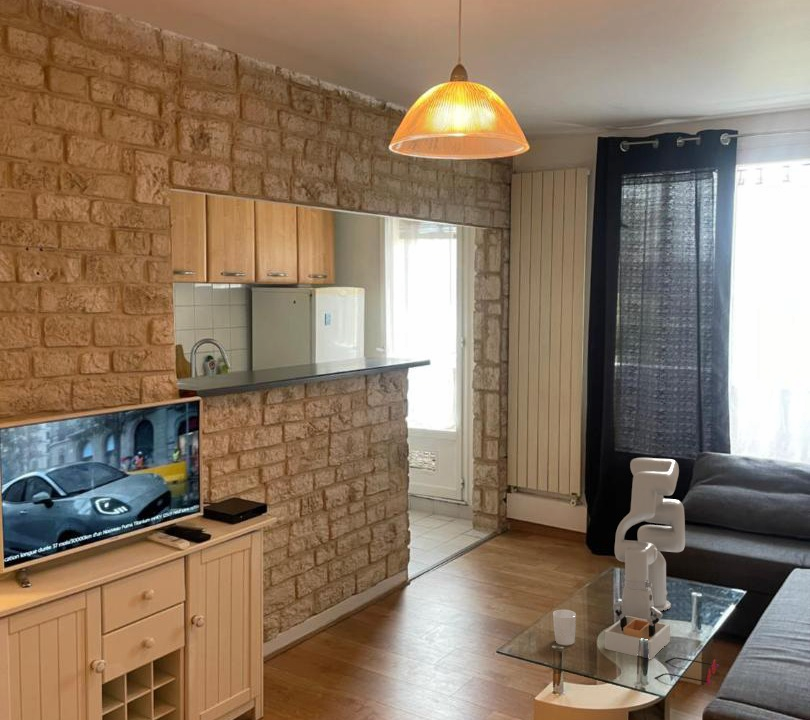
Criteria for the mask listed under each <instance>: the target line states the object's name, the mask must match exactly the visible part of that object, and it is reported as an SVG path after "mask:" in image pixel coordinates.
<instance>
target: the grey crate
mask: <svg viewBox="0 0 810 720" xmlns="http://www.w3.org/2000/svg"><path fill="white" fill-rule="evenodd" d="M625 617H626V618H627V624H629V623H630V622H631V621H632V620H634V619H639V620H643V621H647V620H646V619H641V618H636V617H632V616H627V615H626V616H625ZM639 639H641V638H637V637H632V636H628V635H623V631H622V630H621V627H620V619H619V620H617V621H616V622H615V623H614V624H612V625H611V626H610V627H609V628H607V629H606V630H605V631H604V649H605V650H609V651H612V652H613V651H614V652H616V653H617V652H618V653H620V654H626V655H630V656H633V657H637V654H638V646H639ZM647 641H648V649H649V658H650V659H651V660H653V659H654V657H656V656H657V655H656V654H657V653H658V652H659V651H660V650H661V649H662V648H663V649H664V648H665V647H666V646H667V645H668V644H669V643H670V642H671V624H670V623H664V622H661V621H658V622H657V623H656V624H655V634H654V635H653V636H652V638H651V639H650V640H647ZM664 646H665V647H664ZM663 649H662V650H663ZM662 650H661V651H662ZM661 651H660V652H661ZM660 652H659V653H660ZM659 653H658V654H659ZM655 655H656V656H655ZM650 659H649V660H650Z"/></svg>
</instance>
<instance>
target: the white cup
mask: <svg viewBox="0 0 810 720" xmlns="http://www.w3.org/2000/svg"><path fill="white" fill-rule="evenodd" d="M552 616H553V617H552V618H553V631H554V642H555V641H556V642H555V643H556V644H557V645H560V646H572V645H573V644H575V643H576V640H575V639H576V624H577V614H576V612H575V611H573V610H570V609H557V610H554V611H553V612H552Z"/></svg>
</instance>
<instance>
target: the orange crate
mask: <svg viewBox="0 0 810 720" xmlns="http://www.w3.org/2000/svg"><path fill="white" fill-rule="evenodd" d="M649 625H650V624H649V622H648V621H643V620H639V619H634V620H632V621H631V622H630V623H629V624H627V625H626V626H625V627H624V628H623V635H628V636H632V637H637V638H644V639H648V640H650V639H651V638H652V637H649Z"/></svg>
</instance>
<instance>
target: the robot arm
mask: <svg viewBox="0 0 810 720" xmlns="http://www.w3.org/2000/svg"><path fill="white" fill-rule="evenodd" d="M629 464H630V466H629V468H630V471H631V472H630V473H632V476H633V477H632V485H631V486H632V488H631V501H630V510H629V513H628V514H626V516H624V517H623V519H622V520H621V521H620V522H619V524H618V526H617V529H616V532H615V539H614V540H615V542H614V555H615V558H616V559H617V560H618V561H619V562H622V563H623V562H624V566H625V567H624V570H625V571H624V572H625V575H624V576H625V579H624V580H625V585H624V586H623V590H622V596H621V601H618V602H615V603H613V604H612V607H613V610H614V611H615V614H616V616H618V619H619V620H620V627H621V630H622V631H623V628H624V627H625V626H626V625H627V618H626V617H625V616H626V615H627V616H632V617H636V618H641V619H646V620H647V621H648V622H649V624H650V625H649V637H652V636H653V635H654V634H655V624H656V623H657V622H661V621H660V620H661V619H662V617H663V612H664V611H668V610H669V609H670V608H671V605H672V603H671V602H670V601H669V600H667V595H668V590H667V562H666V559H665V557H664V556H663V554H662V553H661V552H670V553H680V552H681V553H682V552H683V551H684V549H685V547H686V525H685V523H686V522H685V521H686V519H685V517H686V516H685V507H684V505H683V503H682V502H681V501H680V500H679V499H673V498H665V497H664V496H667V497H669V496H672V495H673V494H674V492H675V490H676V487H677V482H678V478H679V473H680V469H679V463H678V462H677V461H676V460H675V459H671V458H656V457H655V458H653V457H636V458H632V459H631V460H630V463H629ZM641 522H647V523H650V524H644V525H641V526H640V527H639V528H638V529H637V534H636V535H637V540H627V539H625V536H626V533H627V531H628V530H629V529H630V528H631V527H632V526H635V525H637V524H640V523H641ZM651 523H652V524H651ZM653 523H654V524H653ZM655 524H656V525H655ZM658 524H659V525H658ZM660 524H661V525H660ZM667 525H668V526H667ZM619 607H621V609H620V608H619ZM667 609H668V610H667ZM663 610H664V611H663ZM654 615H655V616H656V617H654Z"/></svg>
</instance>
